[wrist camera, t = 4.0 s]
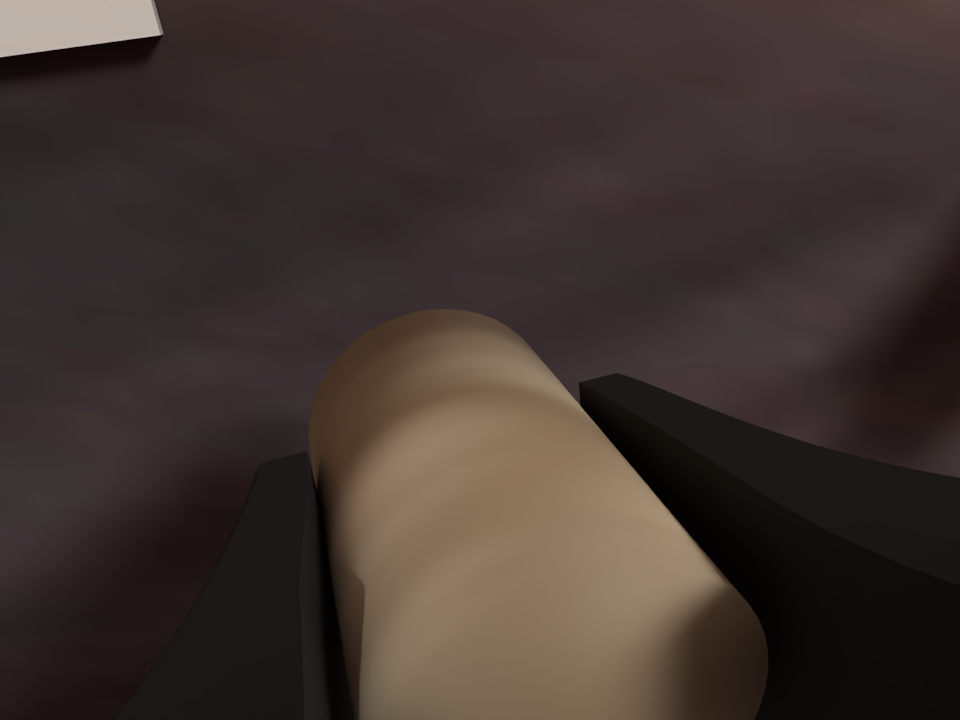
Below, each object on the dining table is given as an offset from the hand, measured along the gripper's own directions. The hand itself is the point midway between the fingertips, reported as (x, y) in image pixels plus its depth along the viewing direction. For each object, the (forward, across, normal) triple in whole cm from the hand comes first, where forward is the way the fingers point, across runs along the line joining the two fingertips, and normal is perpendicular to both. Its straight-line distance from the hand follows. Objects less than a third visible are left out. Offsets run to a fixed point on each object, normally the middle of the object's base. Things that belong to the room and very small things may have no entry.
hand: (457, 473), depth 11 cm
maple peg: (+2, 0, 0) cm, 2 cm away
